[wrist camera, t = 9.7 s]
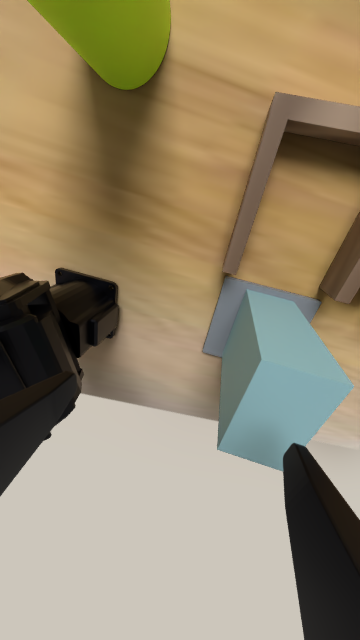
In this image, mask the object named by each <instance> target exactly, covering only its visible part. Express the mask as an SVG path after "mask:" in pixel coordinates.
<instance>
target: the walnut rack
mask: <svg viewBox="0 0 360 640" xmlns="http://www.w3.org/2000/svg"><path fill="white" fill-rule="evenodd" d="M283 132H289V133H294V134H299V135H305V136H310V137H315V138H320V139H326V140H331V141H336V142H341V143H347V144H352V145H357V146H360V107H359V106H353V105H347V104H342V103H336V102H330V101H325V100H319V99H313V98H307V97H302V96H296V95H290V94H285V93H279V92H275V95H274V98H273V100H272V103H271V106H270V108H269V112H268V115H267V119H266V122H265V125H264V129H263V132H262V135H261V139H260V142H259V145H258V149H257V152H256V156H255V159H254V162H253V166H252V169H251V172H250V176H249V179H248V182H247V186H246V189H245V193H244V196H243V199H242V203H241V206H240V209H239V213H238V216H237V219H236V223H235V226H234V230H233V233H232V236H231V240H230V243H229V246H228V250H227V253H226V256H225V260H224V263H223V271H222V272H226V273H230V274H233V275H236V273H237V270H238V267H239V264H240V261H241V258H242V255H243V252H244V249H245V246H246V243H247V240H248V237H249V234H250V231H251V228H252V225H253V222H254V219H255V216H256V213H257V210H258V207H259V204H260V201H261V198H262V195H263V192H264V189H265V186H266V183H267V180H268V177H269V174H270V171H271V168H272V165H273V162H274V159H275V156H276V153H277V150H278V147H279V144H280V141H281V138H282V135H283ZM319 288H321V289H322V290H323V291H324V292H325V293H327V294H328V295H329V296H330V297H331V298H332V299H334V300H335V301H339V302H343V303H347V304H350V302H351V301H352V299H353V297H354V296H355V294H356V293H357V291H358V290H359V288H360V212H359V214H358V216H357V218H356V220H355V221H354V223H353V225H352V227H351V229H350V231H349V233H348V234H347V236H346V238H345V240H344V242H343V244H342V246H341V247H340V249H339V251H338V253H337V255H336V257H335V258H334V260H333V262H332V264H331V266H330V268H329V270H328V271H327V273H326V275H325V277H324V279H323V281H322V283H321V284H320V286H319Z"/></svg>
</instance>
